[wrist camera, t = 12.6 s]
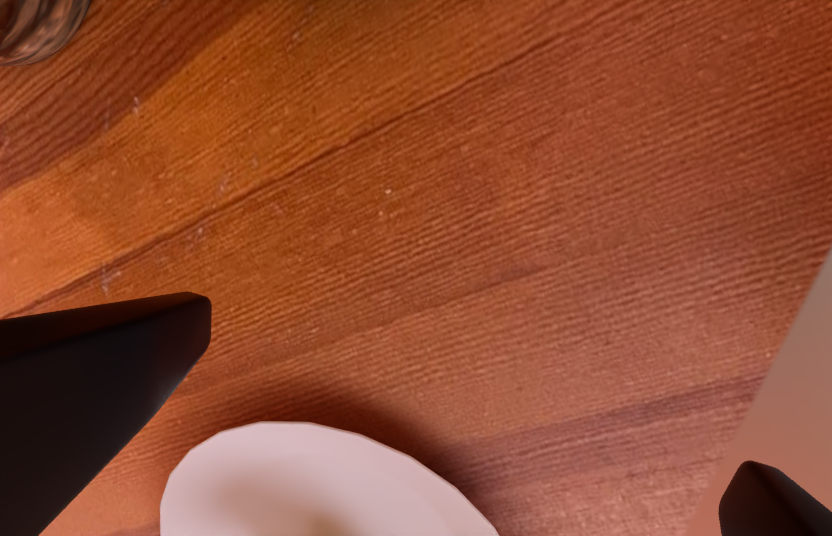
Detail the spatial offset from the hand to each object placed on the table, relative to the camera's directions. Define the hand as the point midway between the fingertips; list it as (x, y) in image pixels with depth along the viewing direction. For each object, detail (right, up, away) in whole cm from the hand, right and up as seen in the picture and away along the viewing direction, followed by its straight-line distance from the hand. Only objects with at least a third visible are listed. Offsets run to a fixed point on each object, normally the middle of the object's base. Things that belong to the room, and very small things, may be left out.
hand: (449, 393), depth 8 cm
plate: (-5, -14, +21) cm, 26 cm away
